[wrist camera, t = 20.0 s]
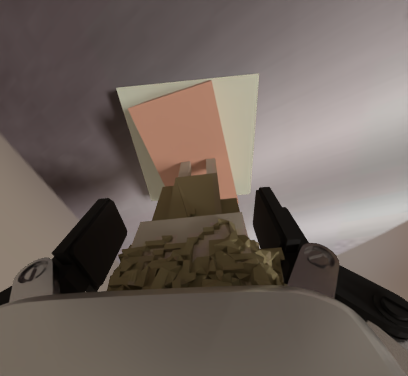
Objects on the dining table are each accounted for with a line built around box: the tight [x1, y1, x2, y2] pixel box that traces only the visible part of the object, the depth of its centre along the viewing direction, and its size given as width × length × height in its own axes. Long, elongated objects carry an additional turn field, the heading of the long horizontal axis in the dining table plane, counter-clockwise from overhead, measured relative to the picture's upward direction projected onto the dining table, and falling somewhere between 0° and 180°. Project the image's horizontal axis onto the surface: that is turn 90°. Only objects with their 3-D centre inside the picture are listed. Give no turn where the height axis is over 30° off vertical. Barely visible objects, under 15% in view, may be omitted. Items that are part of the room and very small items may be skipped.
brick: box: [128, 80, 238, 202], centre depth 18 cm, size 12×7×4 cm, turn 16°
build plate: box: [116, 74, 259, 201], centre depth 21 cm, size 14×14×2 cm
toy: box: [107, 158, 287, 291], centre depth 10 cm, size 7×7×15 cm
